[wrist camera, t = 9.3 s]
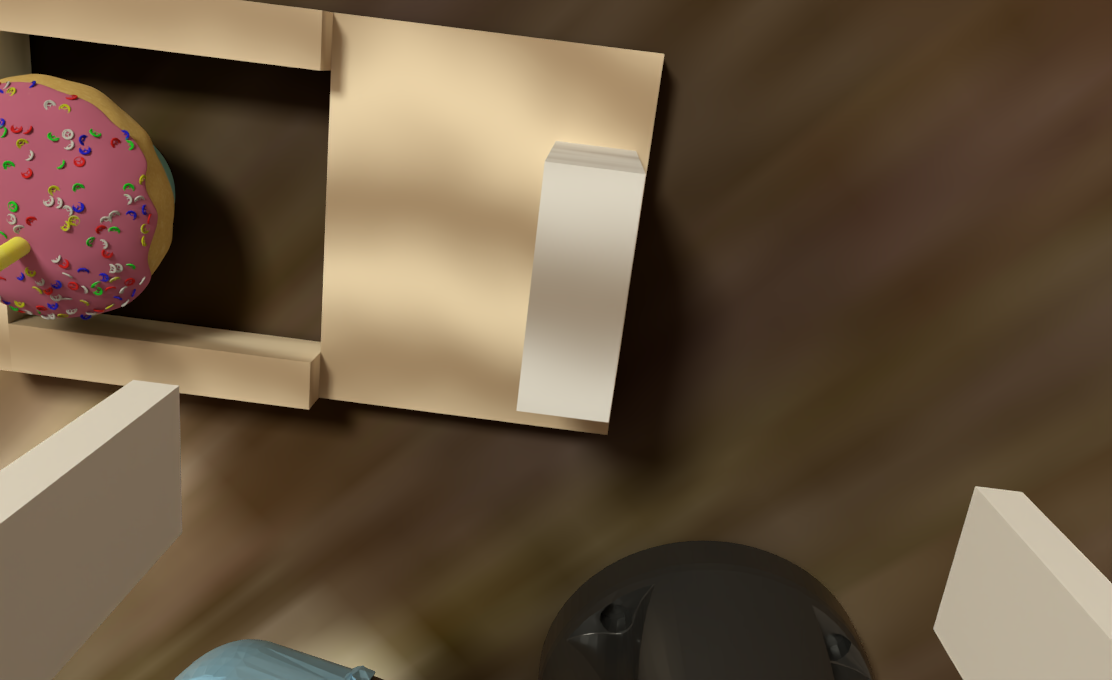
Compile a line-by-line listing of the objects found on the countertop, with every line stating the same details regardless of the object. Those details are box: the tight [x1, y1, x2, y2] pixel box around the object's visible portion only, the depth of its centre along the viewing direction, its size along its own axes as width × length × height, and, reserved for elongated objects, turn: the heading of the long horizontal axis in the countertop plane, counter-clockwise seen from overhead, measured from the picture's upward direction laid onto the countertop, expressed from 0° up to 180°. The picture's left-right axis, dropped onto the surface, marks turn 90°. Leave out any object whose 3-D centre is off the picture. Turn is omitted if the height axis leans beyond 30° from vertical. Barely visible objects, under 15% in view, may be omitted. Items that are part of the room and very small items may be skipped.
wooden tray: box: [0, 0, 664, 435], centre depth 31 cm, size 15×26×8 cm, turn 83°
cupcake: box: [0, 74, 175, 320], centre depth 30 cm, size 9×8×12 cm
